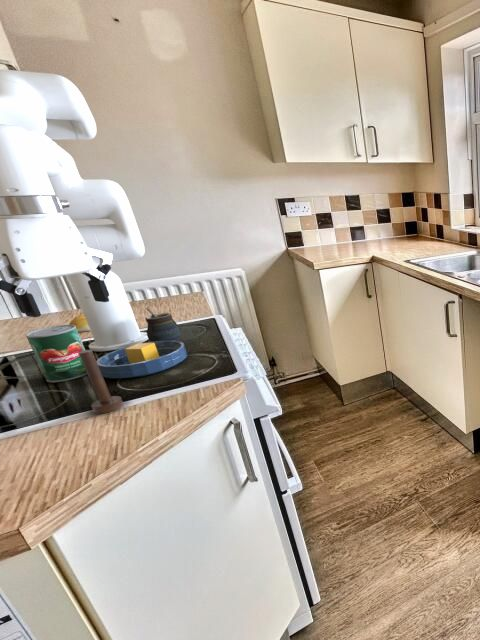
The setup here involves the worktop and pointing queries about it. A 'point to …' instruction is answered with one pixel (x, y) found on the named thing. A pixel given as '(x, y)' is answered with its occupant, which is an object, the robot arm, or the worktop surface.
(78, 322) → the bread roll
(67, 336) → the canned tomato
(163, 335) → the mate gourd
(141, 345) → the block
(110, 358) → the bowl
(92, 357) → the muddler
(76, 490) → the worktop surface
